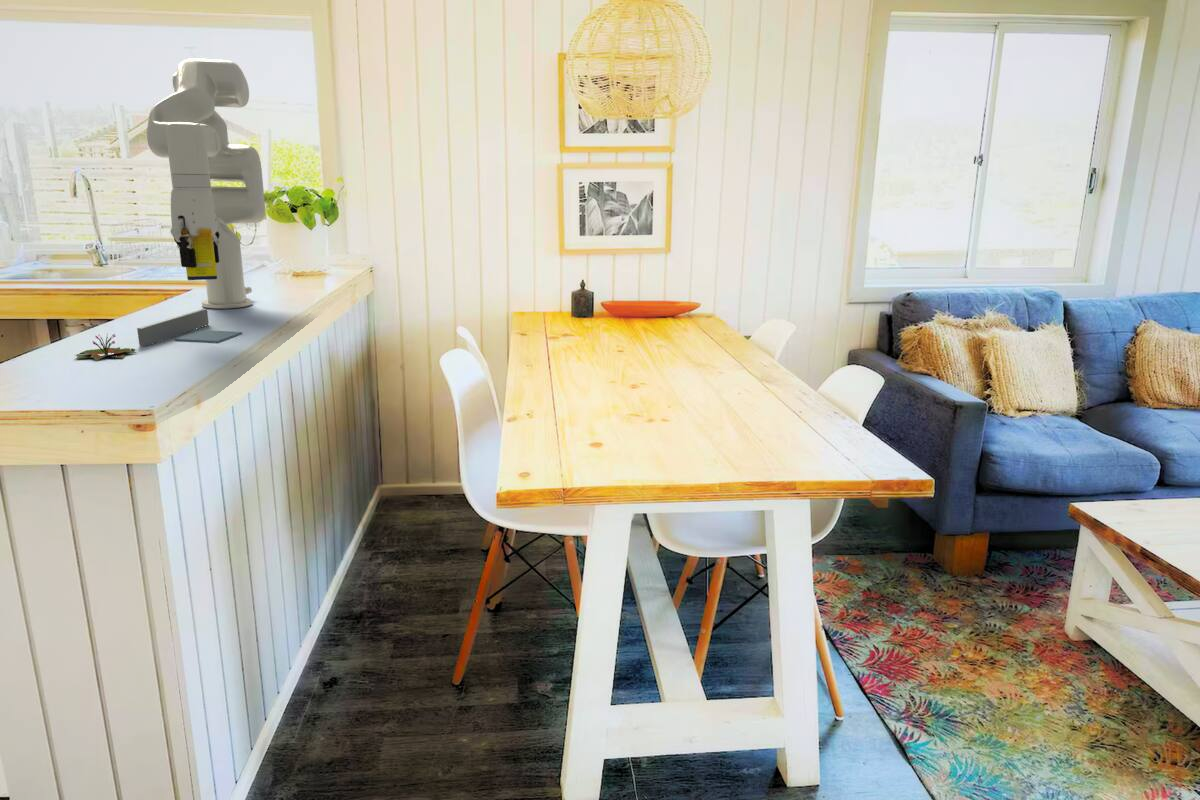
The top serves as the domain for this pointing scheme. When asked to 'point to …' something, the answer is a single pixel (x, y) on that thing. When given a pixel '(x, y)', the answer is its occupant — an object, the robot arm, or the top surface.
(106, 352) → the lily flower
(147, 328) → the low wall
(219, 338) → the rubber mat
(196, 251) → the supplement box
